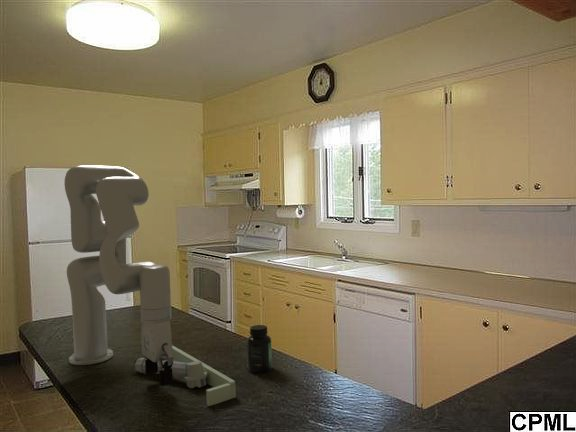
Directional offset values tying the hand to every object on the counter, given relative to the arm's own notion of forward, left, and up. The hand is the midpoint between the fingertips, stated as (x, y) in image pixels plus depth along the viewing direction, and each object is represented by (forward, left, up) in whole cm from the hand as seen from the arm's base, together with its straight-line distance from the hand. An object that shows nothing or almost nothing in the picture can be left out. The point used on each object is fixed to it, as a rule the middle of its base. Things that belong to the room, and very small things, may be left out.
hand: (158, 378), depth 118 cm
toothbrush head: (-4, +5, -3) cm, 7 cm away
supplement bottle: (+7, +27, -2) cm, 28 cm away
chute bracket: (0, +8, -2) cm, 9 cm away
